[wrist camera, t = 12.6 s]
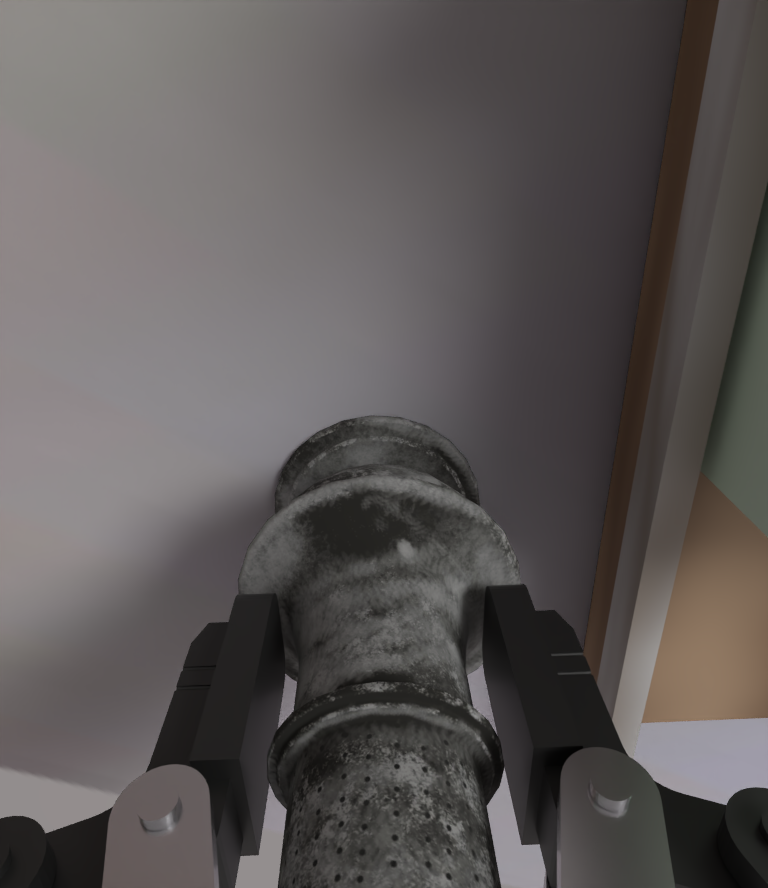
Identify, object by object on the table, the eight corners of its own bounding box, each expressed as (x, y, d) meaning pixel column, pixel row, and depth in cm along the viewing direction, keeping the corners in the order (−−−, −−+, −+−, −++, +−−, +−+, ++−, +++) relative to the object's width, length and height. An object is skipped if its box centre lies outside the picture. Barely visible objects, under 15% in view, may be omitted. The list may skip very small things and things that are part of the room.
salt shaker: (385, 630, 18) (417, 1383, 7) (217, 517, 16) (-93, 1310, 5) (537, 499, 16) (897, 1251, 5) (367, 355, 14) (372, 1060, 3)
